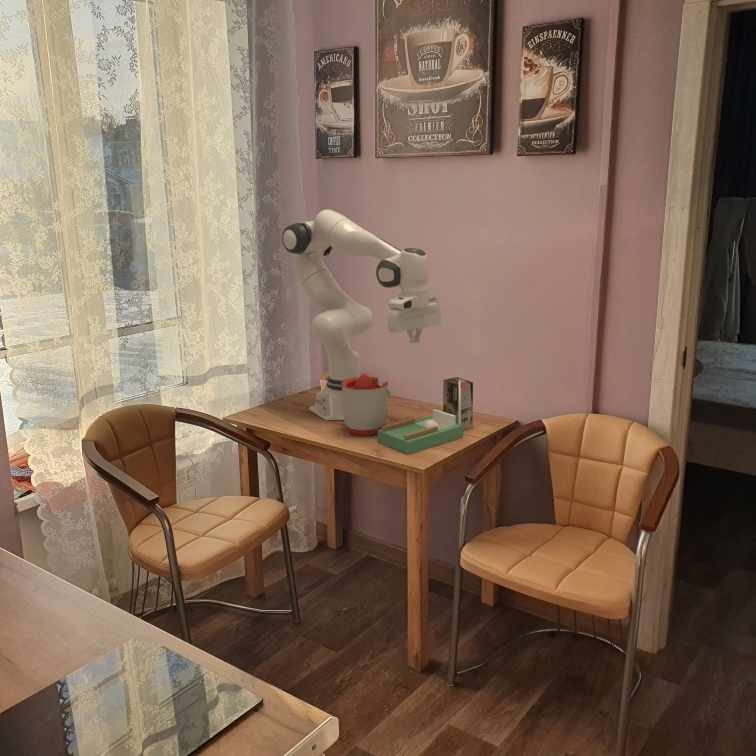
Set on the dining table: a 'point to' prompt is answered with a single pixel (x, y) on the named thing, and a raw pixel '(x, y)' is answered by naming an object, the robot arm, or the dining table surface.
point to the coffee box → (453, 397)
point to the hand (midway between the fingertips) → (414, 342)
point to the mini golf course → (423, 430)
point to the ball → (430, 423)
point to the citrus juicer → (364, 405)
